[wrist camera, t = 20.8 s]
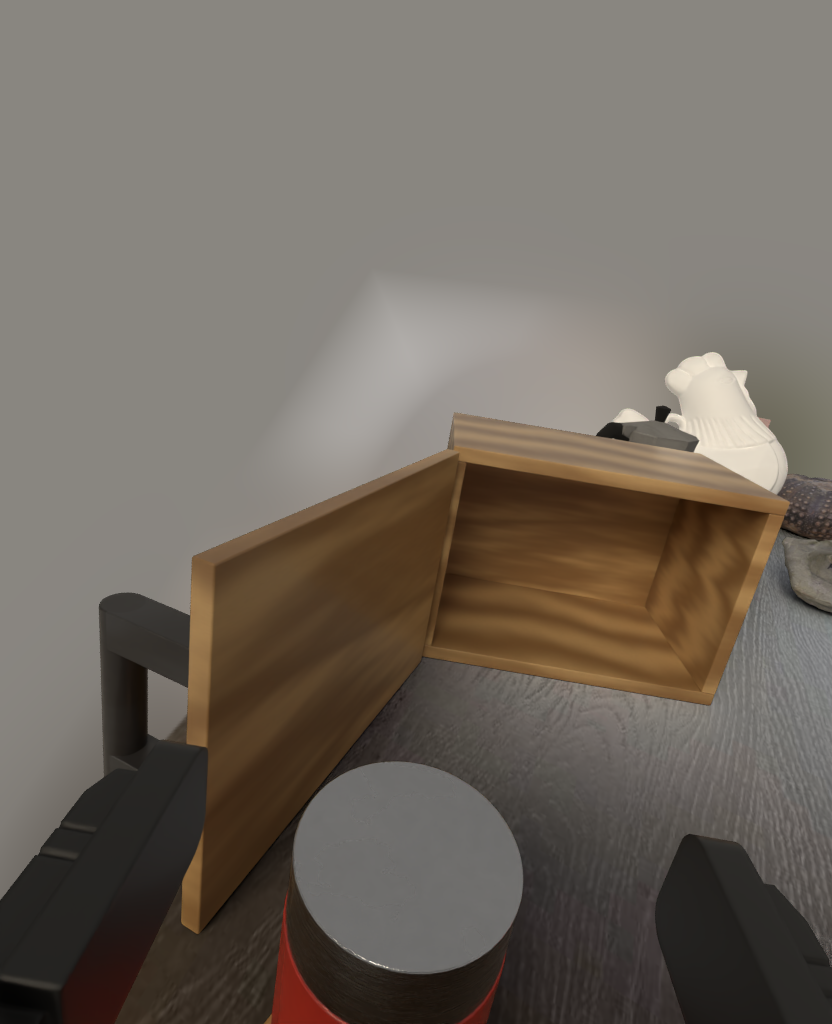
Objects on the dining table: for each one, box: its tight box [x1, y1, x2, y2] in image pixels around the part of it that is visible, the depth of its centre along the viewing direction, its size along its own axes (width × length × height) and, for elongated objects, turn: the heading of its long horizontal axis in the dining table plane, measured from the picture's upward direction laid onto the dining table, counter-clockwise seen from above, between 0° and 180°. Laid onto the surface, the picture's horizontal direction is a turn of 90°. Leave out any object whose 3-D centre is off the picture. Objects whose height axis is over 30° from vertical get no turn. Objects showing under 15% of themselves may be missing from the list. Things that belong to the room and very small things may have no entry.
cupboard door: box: [99, 449, 460, 934], centre depth 30 cm, size 6×22×16 cm, turn 156°
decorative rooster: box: [612, 352, 788, 495], centre depth 89 cm, size 25×16×25 cm
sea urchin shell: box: [777, 474, 832, 541], centre depth 94 cm, size 19×19×10 cm
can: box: [271, 761, 523, 1024], centre depth 16 cm, size 6×6×10 cm
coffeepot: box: [596, 406, 699, 452], centre depth 69 cm, size 15×9×18 cm, turn 114°
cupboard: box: [422, 413, 790, 705], centre depth 46 cm, size 14×22×16 cm, turn 86°
